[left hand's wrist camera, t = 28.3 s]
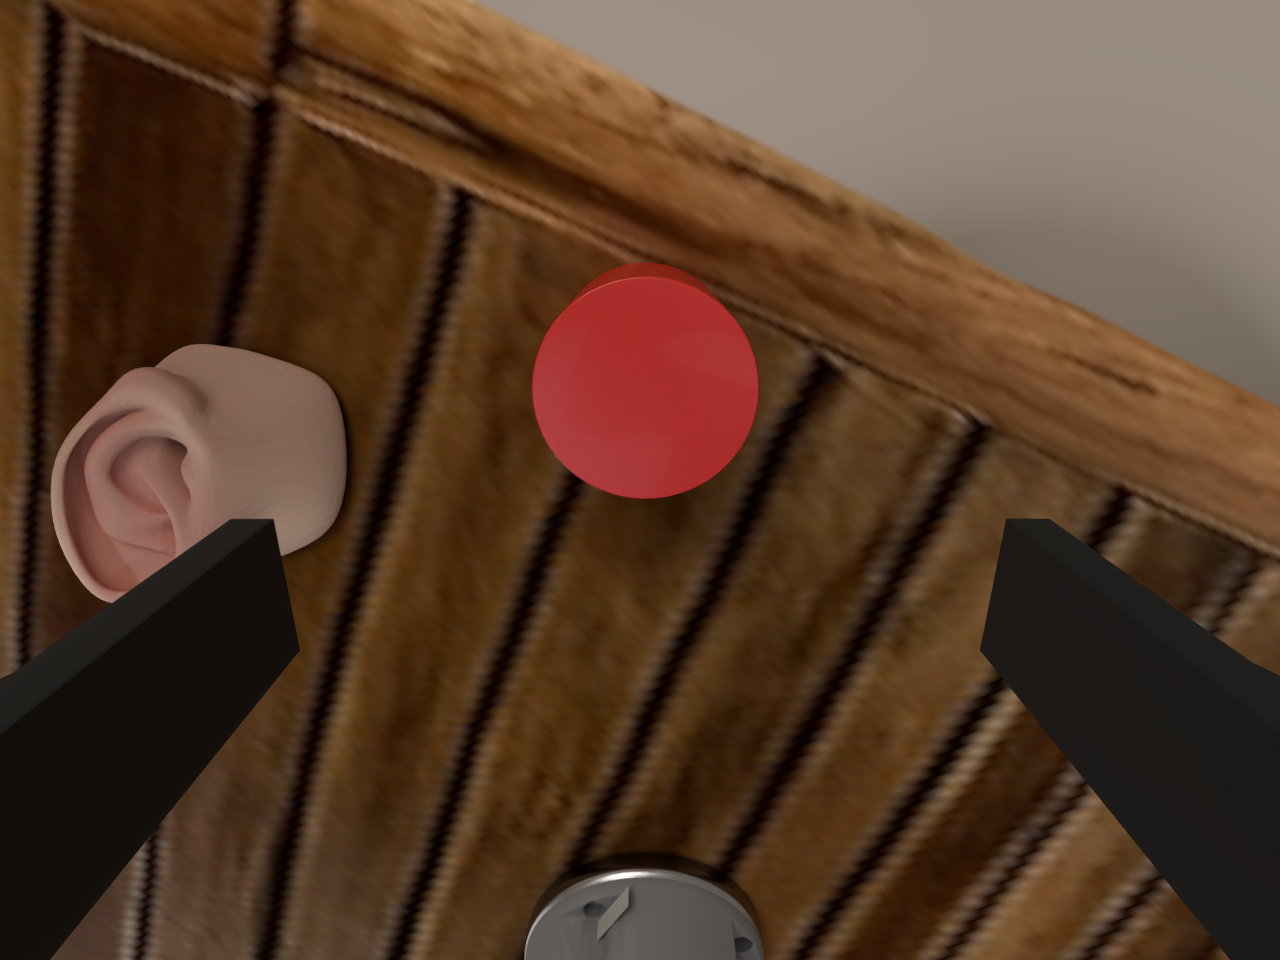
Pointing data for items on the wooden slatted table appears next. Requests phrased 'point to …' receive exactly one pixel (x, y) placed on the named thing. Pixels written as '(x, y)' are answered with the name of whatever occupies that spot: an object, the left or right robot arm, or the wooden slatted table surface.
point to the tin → (645, 383)
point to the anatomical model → (196, 462)
